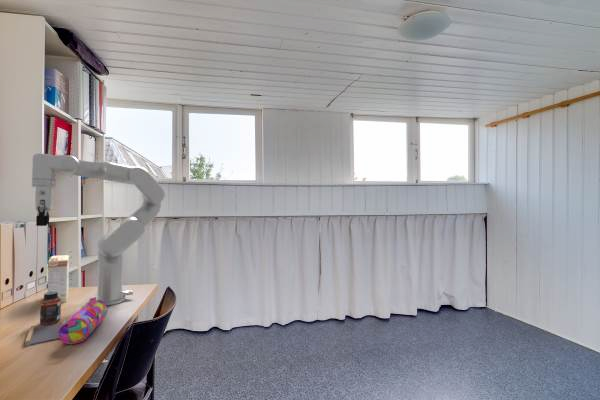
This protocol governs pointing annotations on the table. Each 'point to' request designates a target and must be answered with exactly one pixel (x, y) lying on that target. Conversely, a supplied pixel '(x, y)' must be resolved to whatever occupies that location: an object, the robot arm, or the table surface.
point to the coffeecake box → (58, 275)
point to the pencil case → (83, 322)
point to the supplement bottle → (50, 308)
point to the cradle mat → (43, 334)
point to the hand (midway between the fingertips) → (42, 224)
